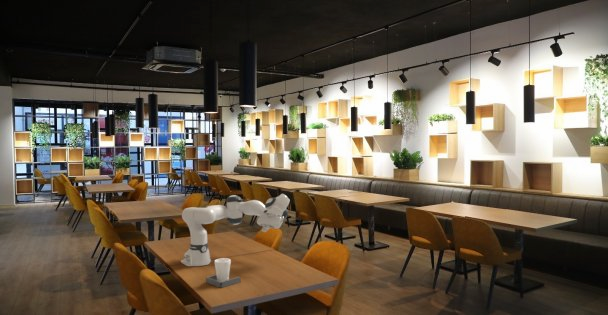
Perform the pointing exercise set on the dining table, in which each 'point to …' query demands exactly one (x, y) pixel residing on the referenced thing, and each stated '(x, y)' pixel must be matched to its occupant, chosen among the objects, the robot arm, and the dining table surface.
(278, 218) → the robot arm
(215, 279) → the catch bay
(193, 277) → the dining table surface
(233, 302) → the dining table surface
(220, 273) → the foam cup
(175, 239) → the dining table surface
